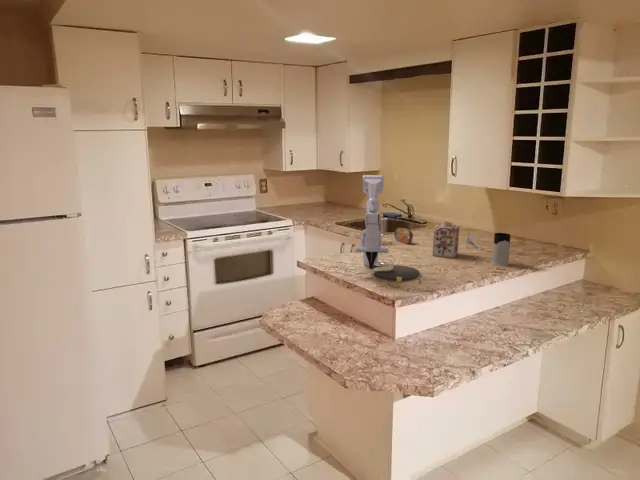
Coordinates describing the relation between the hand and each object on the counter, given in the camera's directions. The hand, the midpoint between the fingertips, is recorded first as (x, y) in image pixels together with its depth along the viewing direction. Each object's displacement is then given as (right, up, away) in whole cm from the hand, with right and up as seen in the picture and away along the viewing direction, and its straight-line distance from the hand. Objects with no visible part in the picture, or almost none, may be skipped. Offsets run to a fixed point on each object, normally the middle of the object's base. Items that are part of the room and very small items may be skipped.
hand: (371, 268), depth 223 cm
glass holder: (+67, +1, +27) cm, 73 cm away
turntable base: (+12, -4, 0) cm, 12 cm away
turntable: (+12, -3, 0) cm, 12 cm away
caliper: (+67, +9, +65) cm, 93 cm away
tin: (+27, +11, +73) cm, 78 cm away
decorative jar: (+44, +5, +42) cm, 61 cm away
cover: (+6, -1, 0) cm, 6 cm away
